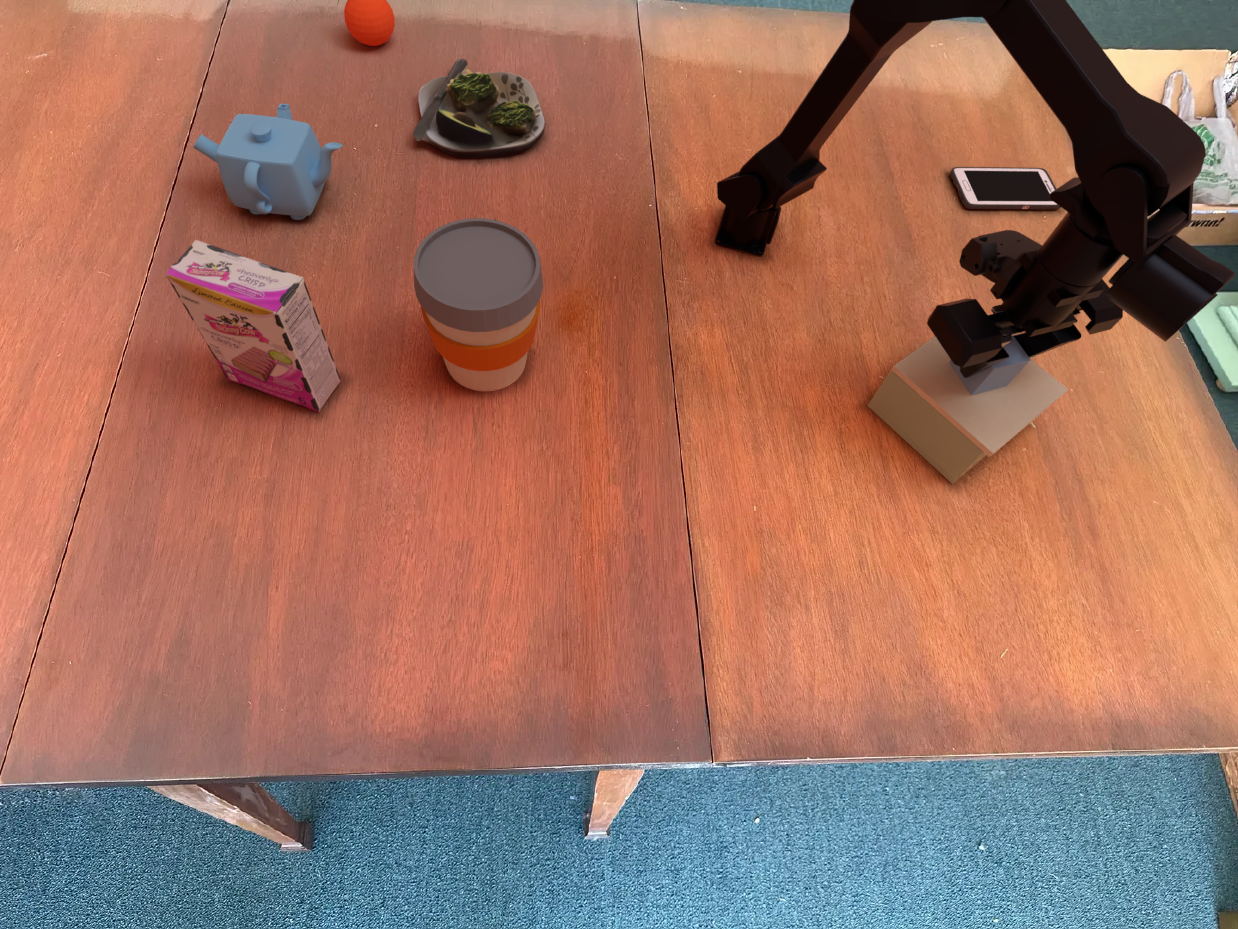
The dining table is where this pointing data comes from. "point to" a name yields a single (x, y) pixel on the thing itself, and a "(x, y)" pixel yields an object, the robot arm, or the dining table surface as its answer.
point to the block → (996, 370)
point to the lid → (979, 396)
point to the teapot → (271, 163)
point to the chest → (924, 428)
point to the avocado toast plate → (479, 113)
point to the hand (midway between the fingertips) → (982, 369)
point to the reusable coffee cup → (480, 299)
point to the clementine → (369, 20)
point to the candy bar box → (257, 324)
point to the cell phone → (1004, 188)
